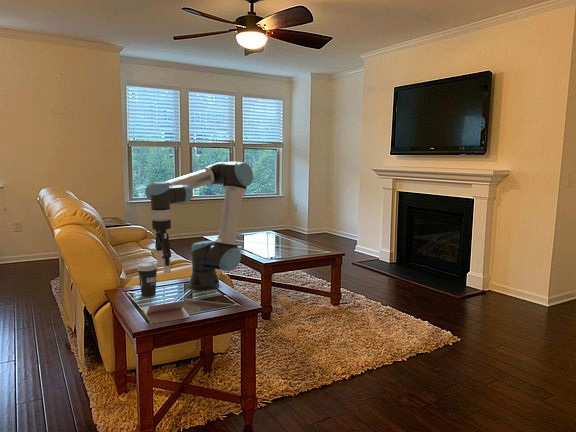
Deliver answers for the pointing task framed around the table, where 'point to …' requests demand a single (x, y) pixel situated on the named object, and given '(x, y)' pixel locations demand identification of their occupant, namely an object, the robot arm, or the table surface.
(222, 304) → the table surface
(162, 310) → the greeting card
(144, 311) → the mat
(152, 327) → the table surface
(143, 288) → the coffee cup
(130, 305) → the table surface
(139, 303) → the table surface
